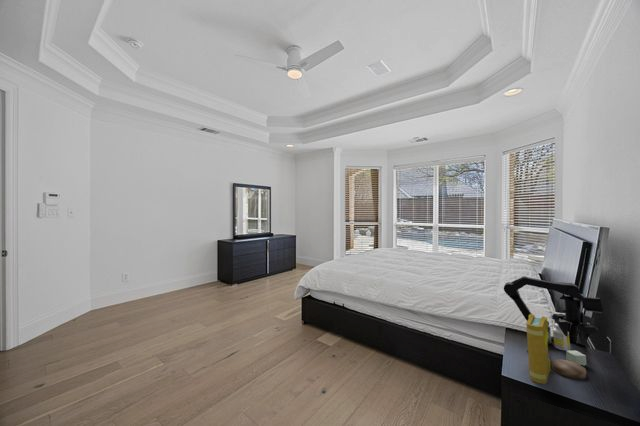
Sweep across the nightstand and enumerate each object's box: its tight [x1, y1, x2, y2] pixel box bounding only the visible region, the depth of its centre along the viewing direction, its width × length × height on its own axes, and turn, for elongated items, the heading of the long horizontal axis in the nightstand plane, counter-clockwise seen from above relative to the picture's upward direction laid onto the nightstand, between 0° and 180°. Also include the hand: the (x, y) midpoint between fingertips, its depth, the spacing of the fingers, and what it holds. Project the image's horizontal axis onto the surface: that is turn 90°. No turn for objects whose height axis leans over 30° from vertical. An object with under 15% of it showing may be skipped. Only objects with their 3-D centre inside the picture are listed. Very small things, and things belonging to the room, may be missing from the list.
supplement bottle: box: [552, 322, 571, 352], centre depth 145 cm, size 7×7×13 cm
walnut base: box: [550, 358, 587, 380], centre depth 123 cm, size 12×12×2 cm
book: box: [526, 314, 552, 385], centre depth 122 cm, size 17×7×25 cm, turn 134°
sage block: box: [565, 350, 587, 367], centre depth 130 cm, size 5×5×5 cm
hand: (574, 340), depth 130 cm, fingers open, 9 cm apart
